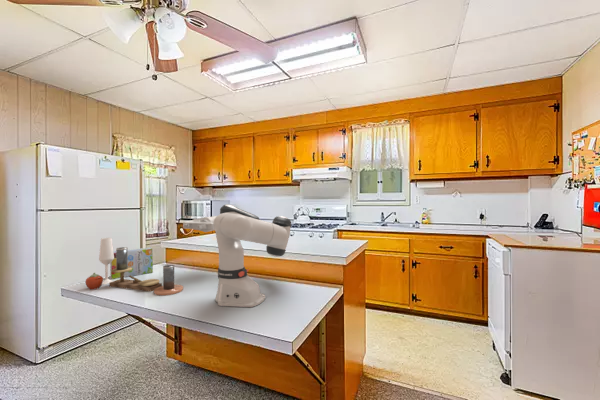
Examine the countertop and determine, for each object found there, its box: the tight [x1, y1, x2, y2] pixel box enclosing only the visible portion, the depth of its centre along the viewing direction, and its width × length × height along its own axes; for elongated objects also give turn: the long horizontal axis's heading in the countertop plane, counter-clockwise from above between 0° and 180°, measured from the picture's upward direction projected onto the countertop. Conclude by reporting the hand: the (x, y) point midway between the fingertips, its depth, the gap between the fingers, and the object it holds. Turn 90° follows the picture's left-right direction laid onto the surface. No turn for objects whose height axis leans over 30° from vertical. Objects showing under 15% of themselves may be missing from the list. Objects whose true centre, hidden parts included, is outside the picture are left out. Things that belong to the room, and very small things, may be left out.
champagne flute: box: [98, 237, 114, 285], centre depth 154 cm, size 7×7×24 cm
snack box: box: [109, 247, 154, 280], centre depth 169 cm, size 21×6×15 cm, turn 130°
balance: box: [108, 267, 163, 292], centre depth 147 cm, size 27×9×8 cm, turn 73°
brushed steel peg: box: [162, 264, 175, 290], centre depth 141 cm, size 5×5×11 cm
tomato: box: [84, 272, 104, 290], centre depth 145 cm, size 7×7×8 cm
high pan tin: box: [115, 246, 129, 270], centre depth 150 cm, size 5×5×11 cm
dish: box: [153, 283, 184, 296], centre depth 141 cm, size 13×13×1 cm
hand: (191, 226), depth 157 cm, fingers open, 8 cm apart
